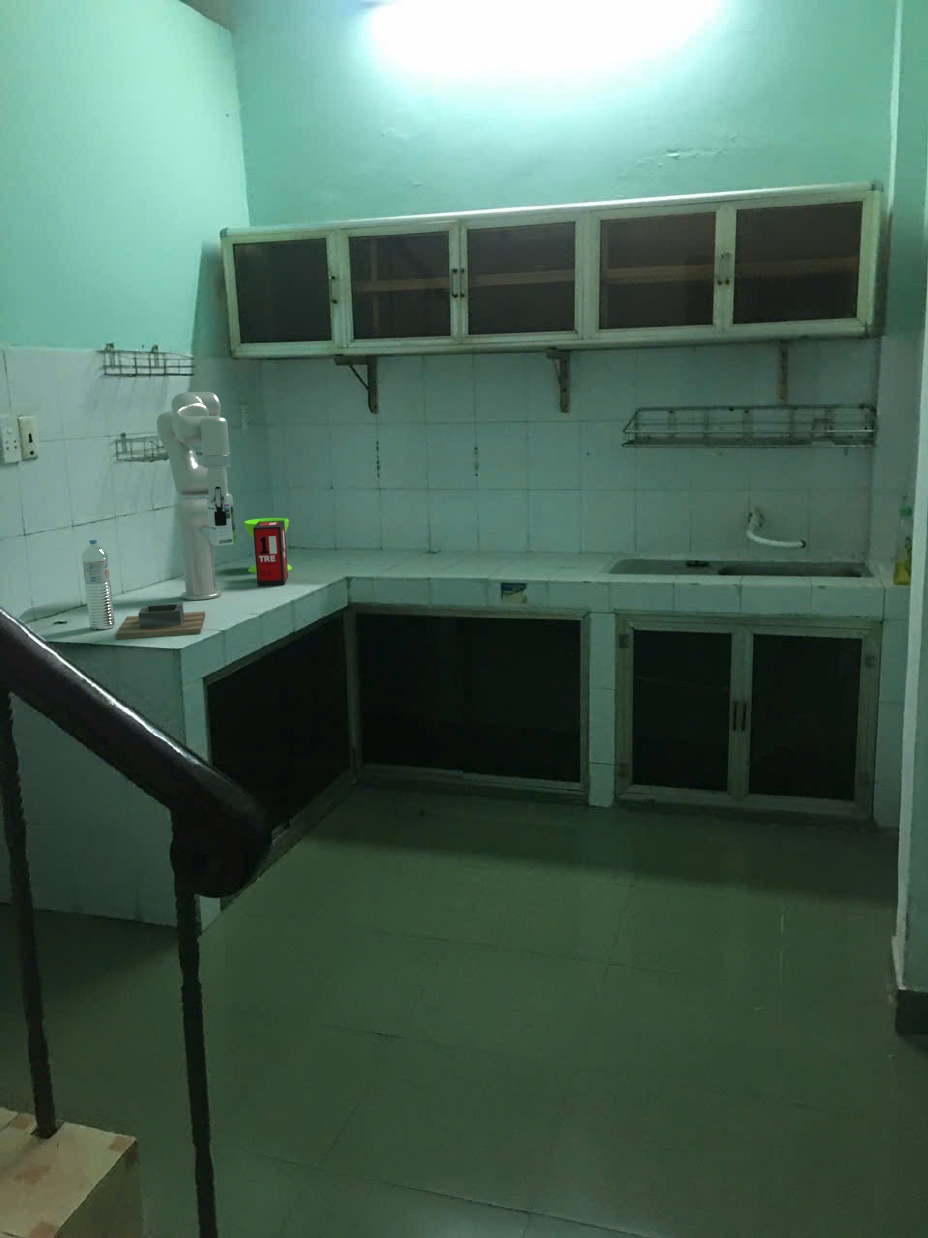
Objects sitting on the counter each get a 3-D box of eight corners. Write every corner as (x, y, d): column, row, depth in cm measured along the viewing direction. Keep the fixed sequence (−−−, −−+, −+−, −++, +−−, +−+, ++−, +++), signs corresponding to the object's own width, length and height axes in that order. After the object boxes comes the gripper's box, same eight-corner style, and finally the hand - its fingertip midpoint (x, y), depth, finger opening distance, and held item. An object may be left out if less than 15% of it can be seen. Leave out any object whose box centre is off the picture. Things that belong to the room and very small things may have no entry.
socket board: (127, 621, 292) (125, 602, 291) (205, 616, 296) (203, 598, 295) (116, 639, 271) (114, 619, 270) (200, 633, 275) (198, 613, 274)
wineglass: (299, 566, 376) (296, 518, 372) (280, 573, 362) (276, 524, 357) (260, 565, 381) (256, 517, 377) (240, 572, 366) (236, 523, 362)
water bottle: (99, 624, 289) (90, 538, 284) (120, 625, 287) (111, 538, 282) (84, 629, 283) (74, 541, 277) (105, 630, 281) (95, 542, 275)
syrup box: (217, 546, 287) (213, 495, 283) (209, 544, 291) (205, 494, 288) (236, 544, 290) (232, 493, 287) (228, 541, 295) (224, 492, 291)
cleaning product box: (284, 585, 340) (280, 526, 335) (257, 586, 339) (253, 527, 335) (288, 576, 356) (284, 520, 351) (262, 577, 355) (258, 521, 351)
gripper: (204, 459, 293) (209, 520, 297) (201, 464, 276) (206, 528, 280) (231, 458, 294) (235, 519, 298) (229, 463, 278) (233, 527, 282)
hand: (221, 523), depth 289 cm, fingers closed on syrup box, 7 cm apart
